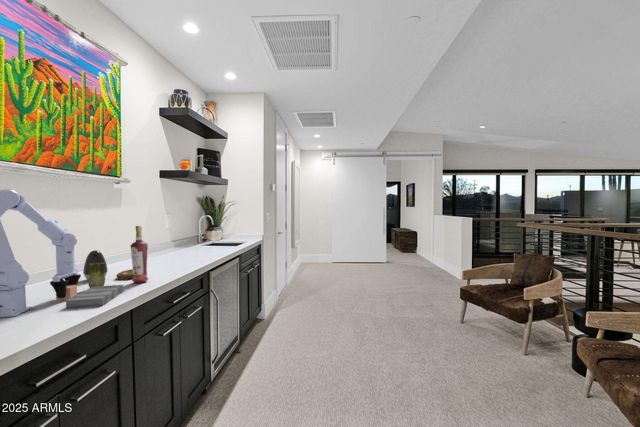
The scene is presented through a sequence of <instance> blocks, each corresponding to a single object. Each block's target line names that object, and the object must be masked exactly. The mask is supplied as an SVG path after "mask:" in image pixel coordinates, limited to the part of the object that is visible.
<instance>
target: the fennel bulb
mask: <svg viewBox="0 0 640 427" xmlns="http://www.w3.org/2000/svg"><path fill="white" fill-rule="evenodd" d="M96 266H97V272H96ZM89 272H90V273H89V280H88V287H89V288H91V287H97V286H105V284H106V276H105V271H104V263H101V271H100V263H96V265H95V263H93V266H92V264H89Z"/></svg>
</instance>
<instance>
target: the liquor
mask: <svg viewBox="0 0 640 427" xmlns="http://www.w3.org/2000/svg"><path fill="white" fill-rule="evenodd" d="M142 229H143V225H135V232H136V233H135V241H134V242H132V243H131V244H130V254H131V255H130V257H131V264H132V269H133V279H131V280H132V282H133V283H134V284H143V283H146V282H148V280H149V277H148V257H149V256H148V255H149V253H148V252H149V251H148V248H149V245H148V243H147V242H145V241H143V235H142V234H143V233H142V231H143V230H142Z"/></svg>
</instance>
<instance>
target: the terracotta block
mask: <svg viewBox="0 0 640 427" xmlns="http://www.w3.org/2000/svg"><path fill="white" fill-rule="evenodd" d="M76 295H78V284H77V285H67V287H66V295H65V298H58V297H57V294H56V293H55V301H56V302H60V301H66V300H68V299H70V298H72V297H74V296H76Z"/></svg>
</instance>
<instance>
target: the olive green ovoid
mask: <svg viewBox="0 0 640 427" xmlns="http://www.w3.org/2000/svg"><path fill="white" fill-rule="evenodd" d="M84 261H85V262H84V264H83V270H82V274H83V275H84V278H85V279H86V280H88V281H89V273H90V272H89V264H92V266H93V263H95V265H96V263H100V271H101V263H104V271H105V277H106V275H107V274H108V272H109V271H108V270H109V269H108V266H107V262H106V259H105V257H104V254H103V253H102V252H101V251H100V250H98V249H97V250H96V249H95V250H92V251H90V252H89V253H88V254H87V256H86V258H85V260H84ZM96 272H97V266H96Z"/></svg>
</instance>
